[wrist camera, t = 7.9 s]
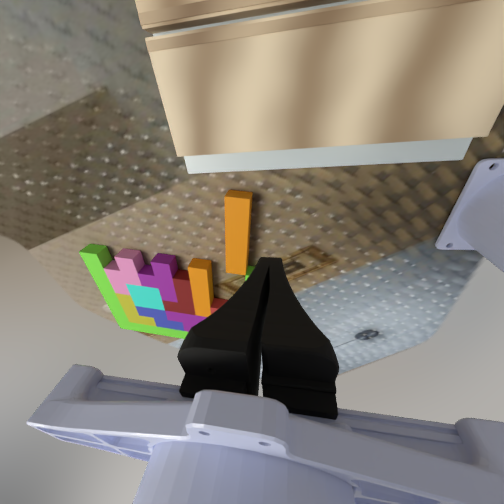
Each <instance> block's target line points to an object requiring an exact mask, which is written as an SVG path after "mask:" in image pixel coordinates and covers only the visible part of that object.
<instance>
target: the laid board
mask: <svg viewBox="0 0 504 504" xmlns="http://www.w3.org/2000/svg"><path fill="white" fill-rule="evenodd" d="M342 1H348V0H135V2H136V6H137V10H138V16H139V20H140V23H141V26H142V28H143V29H144V30H146V31H148V32H150V33H152V34H155V33H161V32H167V31H173V30H178V29H184V28H190V27H196V26H202V25H208V24H214V23H219V22H225V21H231V20H237V19H243V18H249V17H254V16H260V15H266V14H272V13H278V12H284V11H289V10H295V9H301V8H307V7H313V6H319V5H324V4H330V3H336V2H342Z"/></svg>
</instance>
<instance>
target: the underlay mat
mask: <svg viewBox="0 0 504 504" xmlns="http://www.w3.org/2000/svg"><path fill="white" fill-rule="evenodd" d="M362 1H368V0H348V1H342V2H336V3H330V4H324V5H319V6H313V7H307V8H301V9H295V10H289V11H284V12H278V13H272V14H266V15H260V16H254V17H249V18H243V19H237V20H231V21H225V22H219V23H214V24H208V25H202V26H196V27H190V28H184V29H178V30H173V31H167V32H161V33H155V34H153V37H154V36H160V35H166V34H172V33H178V32H184V31H190V30H196V29H202V28H208V27H214V26H220V25H226V24H231V23H237V22H243V21H249V20H255V19H261V18H267V17H273V16H279V15H285V14H291V13H297V12H303V11H308V10H314V9H320V8H326V7H332V6H338V5H344V4H350V3H356V2H362ZM472 138H473V137H471V138H456V139H440V140H425V141H410V142H394V143H379V144H364V145H348V146H333V147H318V148H303V149H287V150H272V151H257V152H241V153H226V154H211V155H195V156H184V159H185V163H186V167H187V171H188V174H192V173H211V172H231V171H251V170H270V169H290V168H310V167H330V166H349V165H369V164H389V163H409V162H428V161H448V160H463V158H464V155H465V153H466V151H467V149H468V147H469V145H470V143H471V141H472Z"/></svg>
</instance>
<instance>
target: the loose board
mask: <svg viewBox="0 0 504 504" xmlns="http://www.w3.org/2000/svg"><path fill="white" fill-rule="evenodd" d="M145 40H146V45H147V49H148V52H149V54H150V58H151V62H152V65H153V69H154V73H155V76H156V80H157V84H158V87H159V91H160V95H161V98H162V102H163V105H164V109H165V113H166V116H167V120H168V124H169V127H170V131H171V135H172V138H173V142H174V146H175V149H176V153H177V157H180V156H195V155H211V154H226V153H241V152H257V151H272V150H287V149H303V148H318V147H333V146H348V145H364V144H379V143H394V142H410V141H425V140H440V139H456V138H471V137H486V136H488V134H489V132H490V130H491V128H492V126H493V124H494V122H495V120H496V118H497V116H498V114H499V112H500V110H501V108H502V106H503V105H504V0H368V1H362V2H356V3H350V4H344V5H338V6H332V7H326V8H320V9H314V10H308V11H303V12H297V13H291V14H285V15H279V16H273V17H267V18H261V19H255V20H249V21H243V22H237V23H231V24H226V25H220V26H214V27H208V28H202V29H196V30H190V31H184V32H178V33H172V34H166V35H160V36H154V37H148V38H145Z"/></svg>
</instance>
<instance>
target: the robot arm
mask: <svg viewBox="0 0 504 504" xmlns="http://www.w3.org/2000/svg"><path fill="white" fill-rule="evenodd" d="M492 164H494V166H493V167H492V168H490V166H491V165H492ZM489 168H490V169H489ZM449 243H450V244H449ZM447 244H449V245H447ZM435 246H436V247H437V248H438V249H440V250H477V251H478V252H479V253H480V254H481V255H483V256H484V257H485V258H486V259H488V260H489V261H490V262H491V263H493V264H494V265H496V267H498V268H499V269H500V270H501V271H503V272H504V158H491V159H483V160H481V161H479V162H478V163H477V164H476V165H475V167H474V169H473V171H472V173H471V175H470V177H469V179H468V181H467V182H466V184H465V186H464V188H463V190H462V192H461V194H460V196H459V198H458V200H457V202H456V204H455V206H454V208H453V210H452V212H451V214H450V216H449V218H448V220H447V222H446V224H445V226H444V227H443V229H442V231H441V233H440V235H439V237H438V239H437V241H436V243H435ZM261 353H262V362H263V371H262V380H261V381H262V382H261V384H262V388H263V397H261V396H258V390H259V377H260V365H261ZM177 357H178V360H179V362H180V364H181V366H182V368H183V370H184V372H185V376H184V379H183V381H182V384H181V386H178V385H170V384H163V383H157V382H149V381H142V380H135V379H128V378H121V377H114V376H107V375H103V373H102V372H101V371H100V370H99V369H97V368H95V367H92V366H85V365H78V364H75V365H73V366H72V367H71V368H70V369H69V371H68V372H67V373H66V374H65V375H64V377H63V378H62V379H61V380H60V382H59V383H58V384H57V385H56V386H55V388H54V389H53V390H52V391H51V393H50V394H49V395H48V396H47V397H46V399H45V400H44V401H43V402H42V404H41V405H40V406H39V407H38V409H37V410H36V411H35V412H34V413H33V415H32V416H31V417H30V418H29V419H28V421H27V425H29V426H32V427H34V428H36V429H38V430H40V431H42V432H44V433H46V434H49V435H51V436H53V437H55V438H57V439H59V440H61V441H66V442H71V443H76V444H80V445H84V446H88V447H93V448H97V449H101V450H105V451H108V452H113V453H116V454H120V455H124V456H128V457H132V458H135V459H139V460H143V461H147V462H148V465H147V467H146V470H145V472H144V475H143V477H142V480H141V483H140V485H139V488H138V491H137V493H136V496H135V498H134V501H133V503H132V504H504V423H503V422H498V421H491V420H483V419H475V418H463V419H460V420H458V421H457V422H456V423H455V425H453V424H446V423H439V422H432V421H425V420H418V419H411V418H404V417H397V416H390V415H383V414H376V413H368V412H361V411H354V410H347V409H340V408H337V402H336V396H335V394H336V386H335V380H336V377H337V375H338V372H339V364H338V361H337V357H336V354H335V352H334V349H333V347H332V345H331V342H330V340H329V339H328V338H327V337H326V336H325V335H324V334H323V333H322V332H321V331H320V330H319V329H318V327H317V326H316V325H315V324H314V323H313V321H312V320H311V319H310V317H309V316H308V315H307V313H306V312H305V311H304V309H303V308H302V306H301V305H300V303H299V302H298V300H297V298H296V296H295V295H294V293H293V291H292V289H291V287H290V284H289V282H288V280H287V277H286V275H285V272H284V268H283V264H282V259H281V258H271V257H261V258H260V259H259V261H258V263H257V265H256V266H255V268H254V270H253V271H252V273H251V274H250V275H249V277H248V278H247V280H246V281H245V282H244V283H243V285H242V286H241V287H240V288H239V289H238V291H237V292H236V293H235V294H234V295H233V296H232V297H231V298H230V299H229V300H228V301H227V302H226V303H225V304H223V305H222V306H221V307H220V308H219V309H217V310H216V311H215V312H214V313H212V314H211V315H210V316H208V317H207V318H206V319H204V320H202V321H201V322H199V323H198V324H196V325H195V326H193V327H191V329H190V330H189V332H188V334H187V335H186V337H185V339H184V341H183V343H182V346H181V348H180V350H179V353H178V356H177Z"/></svg>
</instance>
